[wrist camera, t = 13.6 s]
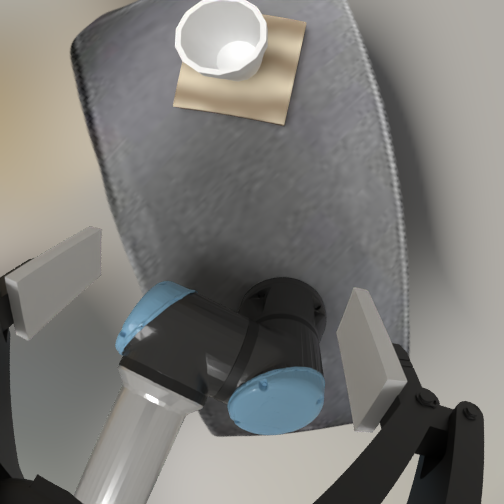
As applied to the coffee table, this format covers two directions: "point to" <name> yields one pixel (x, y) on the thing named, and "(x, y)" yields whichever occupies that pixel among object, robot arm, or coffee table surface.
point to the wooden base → (250, 80)
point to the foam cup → (223, 39)
